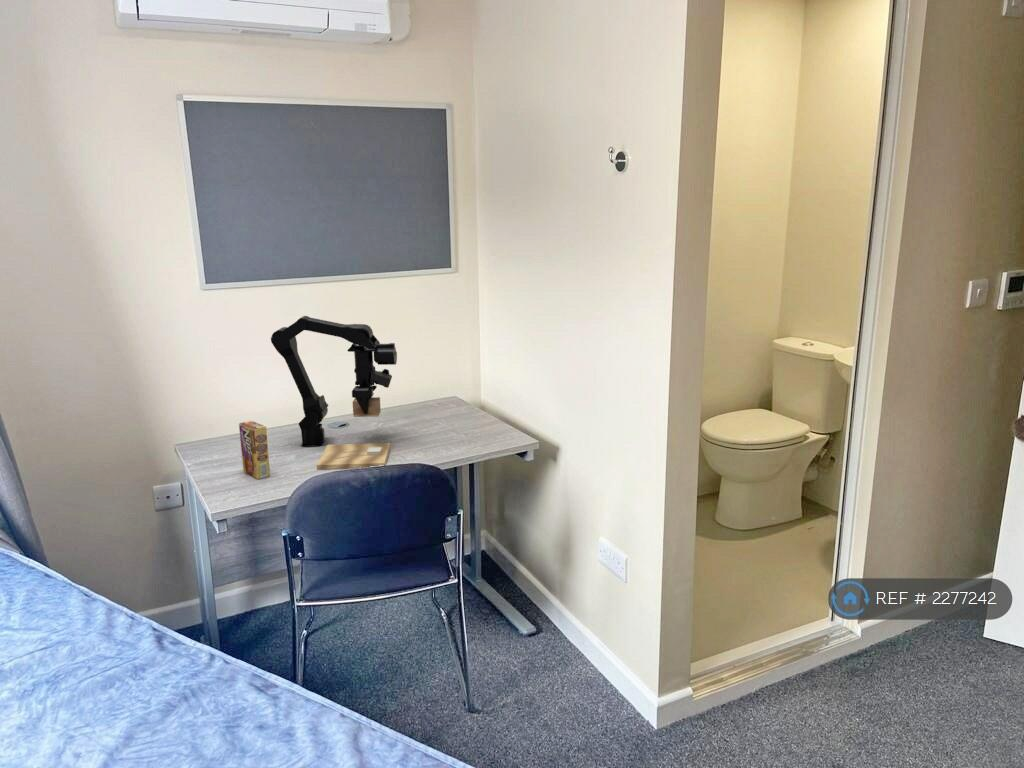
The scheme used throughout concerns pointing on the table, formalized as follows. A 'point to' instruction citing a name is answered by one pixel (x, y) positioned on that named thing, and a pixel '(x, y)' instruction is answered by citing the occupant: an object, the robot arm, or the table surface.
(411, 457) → the table surface
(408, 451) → the table surface
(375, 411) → the block
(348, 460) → the oak board
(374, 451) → the white square tile
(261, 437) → the candy box
